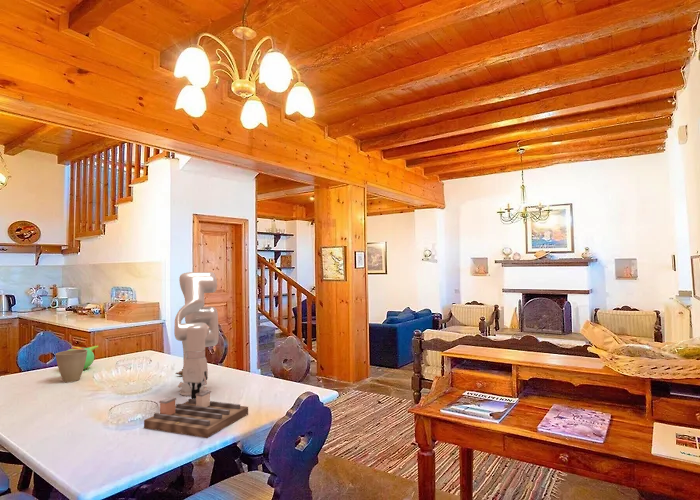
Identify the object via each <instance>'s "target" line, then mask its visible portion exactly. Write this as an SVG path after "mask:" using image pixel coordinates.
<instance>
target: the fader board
mask: <svg viewBox="0 0 700 500" xmlns="http://www.w3.org/2000/svg"><path fill="white" fill-rule="evenodd" d="M187 400H188V401H185V402H183V403H177V404H176V403H175V413H174V414H172V415H167V414H160V412H159V413H158V412H156V413H153V415H152V416H150V417H148V418H146V419H144V420H143V429H149V430H154V431H163V432H168V433H174V434H175V433H176V434H181V435H187V436H195V437H201V438H207V439H208V438H209V437H211V436H214V435H215V434H217V433H218V432H219V431H222V430H223V429H225V428H226V427H228V426H230V425H232V424H234V423H235V422H238V420H240V419H242V418H245V416H247V415H249V406H245V405H241V404H239V403H231V402H222V401H215V400H214V401H213V400H210V406H208V407H201V406H196V399H192V398H188V399H187Z"/></svg>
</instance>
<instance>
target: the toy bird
mask: <svg viewBox="0 0 700 500" xmlns="http://www.w3.org/2000/svg"><path fill="white" fill-rule="evenodd" d="M97 348H99V345H93V346H89V347H84V346H82V347H81V346H72V348H70V349H67V350H66V351H69V350H87V356H86V361H85V365H84V369H83V370H85V369H87V368H89V367H90V366H91V365H92V364H93V363H94V361H95V354H94V352H93V351H94V350H95V349H97Z"/></svg>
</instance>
